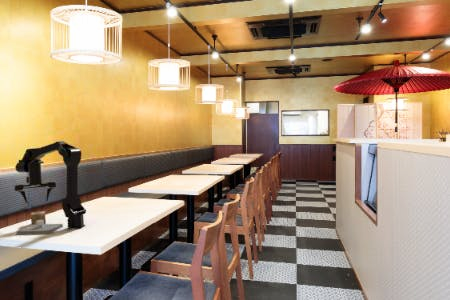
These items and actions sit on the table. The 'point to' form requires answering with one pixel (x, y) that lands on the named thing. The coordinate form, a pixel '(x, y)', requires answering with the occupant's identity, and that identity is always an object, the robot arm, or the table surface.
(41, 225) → the grey small block
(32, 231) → the gray rectangular slab
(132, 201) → the table surface
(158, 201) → the table surface
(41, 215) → the shipping carton
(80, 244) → the table surface
